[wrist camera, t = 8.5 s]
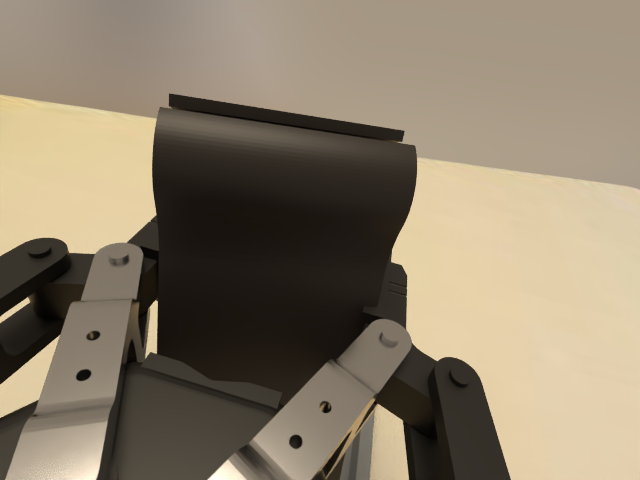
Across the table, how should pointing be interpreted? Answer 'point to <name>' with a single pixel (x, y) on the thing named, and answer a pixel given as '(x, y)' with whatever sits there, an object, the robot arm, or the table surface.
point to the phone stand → (271, 237)
